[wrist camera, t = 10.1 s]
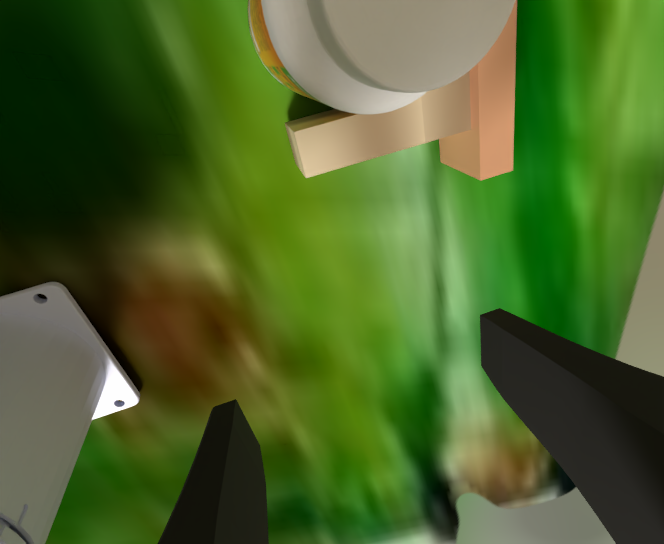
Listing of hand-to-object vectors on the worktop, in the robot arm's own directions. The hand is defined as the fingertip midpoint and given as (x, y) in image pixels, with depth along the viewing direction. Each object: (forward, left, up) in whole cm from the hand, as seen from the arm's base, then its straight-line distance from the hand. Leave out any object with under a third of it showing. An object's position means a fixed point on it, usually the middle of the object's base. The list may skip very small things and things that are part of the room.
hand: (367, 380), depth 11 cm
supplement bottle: (+3, +9, -10) cm, 14 cm away
